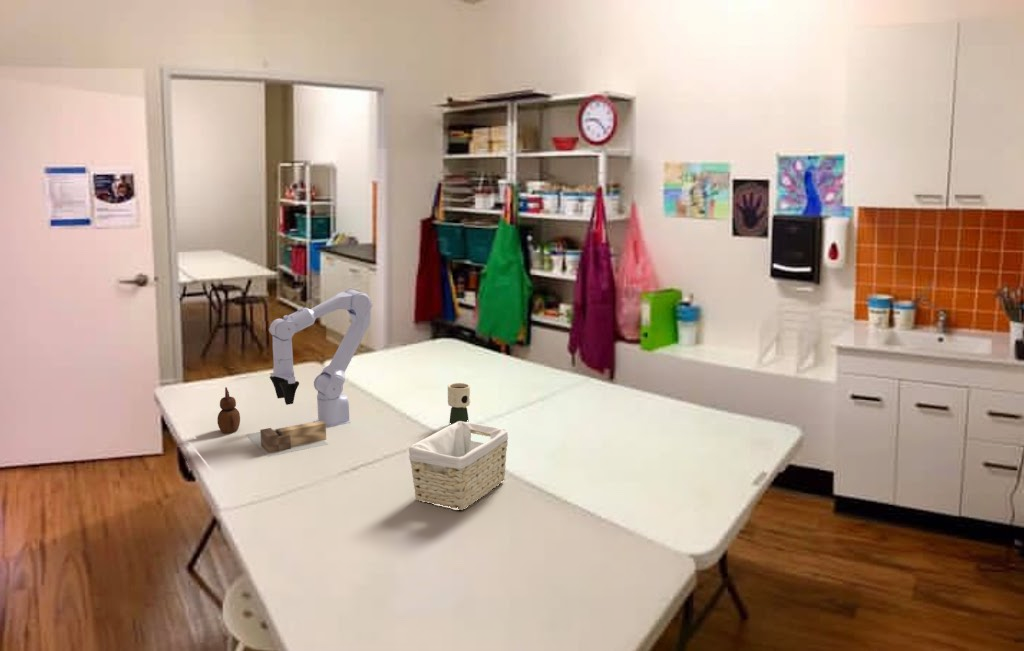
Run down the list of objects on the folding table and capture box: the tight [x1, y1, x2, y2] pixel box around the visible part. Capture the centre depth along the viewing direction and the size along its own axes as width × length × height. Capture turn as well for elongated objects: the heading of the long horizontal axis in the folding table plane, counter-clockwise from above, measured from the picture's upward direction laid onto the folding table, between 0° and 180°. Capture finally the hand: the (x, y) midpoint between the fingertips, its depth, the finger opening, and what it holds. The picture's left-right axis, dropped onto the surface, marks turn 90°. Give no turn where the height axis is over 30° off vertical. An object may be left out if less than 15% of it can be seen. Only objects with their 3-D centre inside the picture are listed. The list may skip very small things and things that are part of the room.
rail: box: [275, 421, 327, 446], centre depth 236 cm, size 14×3×5 cm, turn 124°
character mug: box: [447, 382, 471, 425], centre depth 253 cm, size 11×7×13 cm, turn 157°
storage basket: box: [408, 421, 509, 510], centre depth 201 cm, size 24×16×15 cm
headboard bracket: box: [259, 427, 291, 453], centre depth 231 cm, size 6×7×5 cm
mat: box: [245, 423, 329, 457], centre depth 239 cm, size 18×22×1 cm
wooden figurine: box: [216, 386, 241, 435], centre depth 244 cm, size 7×6×15 cm
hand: (285, 400), depth 245 cm, fingers open, 7 cm apart
